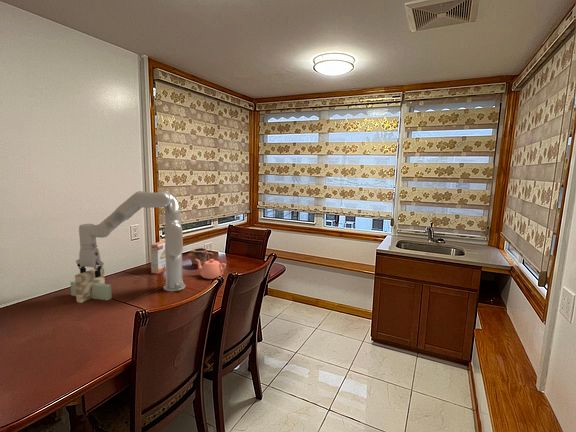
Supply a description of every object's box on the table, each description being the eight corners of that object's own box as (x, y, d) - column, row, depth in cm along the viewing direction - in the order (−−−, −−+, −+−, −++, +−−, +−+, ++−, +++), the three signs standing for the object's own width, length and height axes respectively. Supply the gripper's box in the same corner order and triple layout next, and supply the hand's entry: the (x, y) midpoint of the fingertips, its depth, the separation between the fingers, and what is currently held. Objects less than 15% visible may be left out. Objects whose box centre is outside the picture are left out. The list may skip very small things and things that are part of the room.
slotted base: (111, 298, 169) (110, 284, 168) (107, 300, 166) (106, 286, 165) (76, 293, 174) (75, 280, 173) (71, 295, 171) (70, 281, 170)
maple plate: (101, 291, 178) (99, 266, 176) (105, 291, 177) (104, 267, 175) (76, 302, 163) (75, 275, 160) (81, 302, 162) (79, 275, 160)
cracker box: (158, 274, 210) (157, 245, 208) (150, 273, 212) (150, 244, 209) (170, 268, 224) (169, 240, 221) (163, 267, 225) (162, 240, 222)
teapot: (190, 278, 203) (190, 261, 202) (200, 272, 218) (200, 255, 216) (222, 281, 200) (222, 263, 199) (229, 274, 215) (229, 257, 213)
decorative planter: (215, 265, 235) (215, 247, 233) (212, 270, 223) (212, 251, 221) (189, 264, 234) (189, 247, 232) (185, 269, 222) (184, 251, 220)
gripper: (107, 245, 168) (109, 275, 170) (81, 243, 171) (83, 272, 174) (96, 249, 160) (98, 280, 163) (69, 246, 164) (71, 277, 166)
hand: (90, 276), depth 168 cm, fingers open, 9 cm apart
